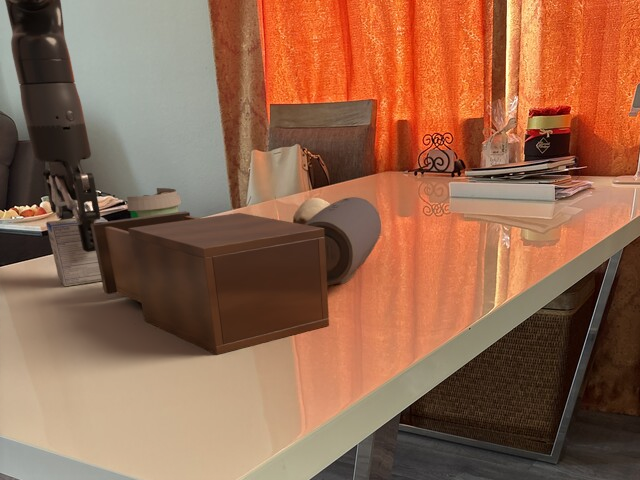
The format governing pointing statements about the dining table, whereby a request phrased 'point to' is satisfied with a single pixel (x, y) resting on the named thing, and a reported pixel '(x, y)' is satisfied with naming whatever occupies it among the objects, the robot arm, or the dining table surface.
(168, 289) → the cabinet
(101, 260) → the drawer
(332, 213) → the bluetooth speaker
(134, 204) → the food container
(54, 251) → the medicine box
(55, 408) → the dining table surface
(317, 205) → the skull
